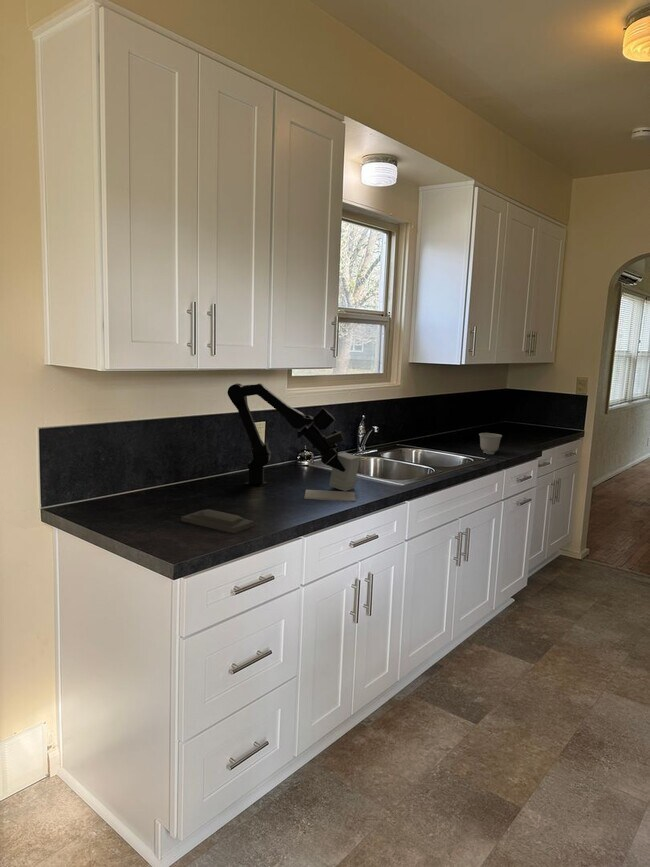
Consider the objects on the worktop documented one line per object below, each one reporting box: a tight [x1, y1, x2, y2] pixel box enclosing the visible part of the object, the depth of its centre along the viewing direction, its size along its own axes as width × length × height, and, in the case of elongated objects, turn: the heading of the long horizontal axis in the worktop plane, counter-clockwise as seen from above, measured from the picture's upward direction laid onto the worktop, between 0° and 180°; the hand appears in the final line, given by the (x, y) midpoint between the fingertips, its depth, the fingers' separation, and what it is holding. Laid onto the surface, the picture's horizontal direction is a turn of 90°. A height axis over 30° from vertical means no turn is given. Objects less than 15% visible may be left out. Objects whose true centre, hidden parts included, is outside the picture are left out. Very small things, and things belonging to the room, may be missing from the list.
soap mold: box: [180, 508, 256, 534], centre depth 196 cm, size 10×20×4 cm, turn 60°
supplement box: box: [328, 451, 361, 492], centre depth 246 cm, size 7×7×13 cm
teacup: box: [478, 432, 503, 455], centre depth 343 cm, size 12×15×10 cm
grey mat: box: [303, 489, 356, 502], centre depth 235 cm, size 18×12×1 cm, turn 89°
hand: (344, 468), depth 246 cm, fingers open, 9 cm apart
